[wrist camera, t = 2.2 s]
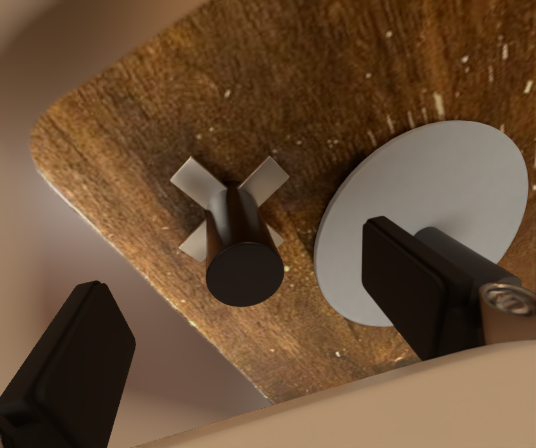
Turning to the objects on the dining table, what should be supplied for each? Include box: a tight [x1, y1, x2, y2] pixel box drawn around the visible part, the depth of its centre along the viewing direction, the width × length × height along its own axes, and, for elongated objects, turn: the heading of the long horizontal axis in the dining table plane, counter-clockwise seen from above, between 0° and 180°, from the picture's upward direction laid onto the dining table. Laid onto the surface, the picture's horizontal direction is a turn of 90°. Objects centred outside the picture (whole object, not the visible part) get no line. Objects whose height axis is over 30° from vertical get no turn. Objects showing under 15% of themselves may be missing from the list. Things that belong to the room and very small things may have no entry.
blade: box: [170, 155, 289, 307], centre depth 13 cm, size 7×7×7 cm
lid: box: [314, 120, 528, 326], centre depth 17 cm, size 16×16×7 cm
